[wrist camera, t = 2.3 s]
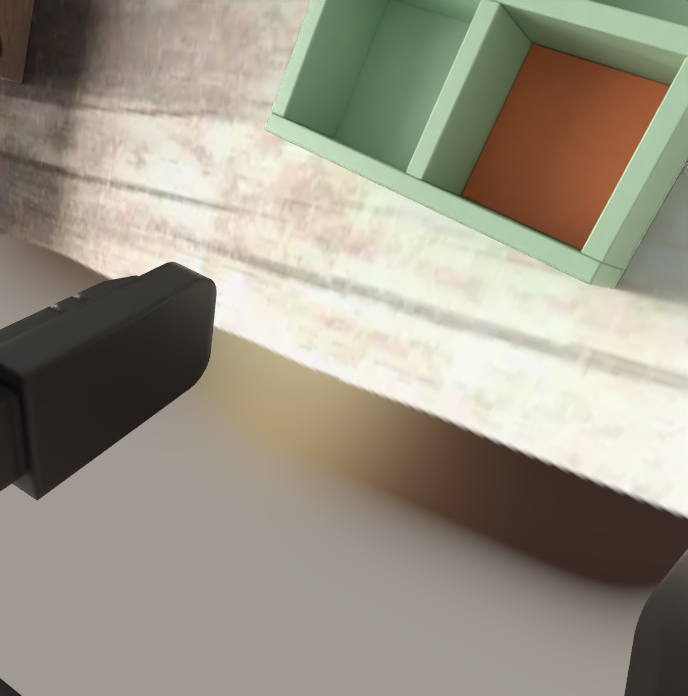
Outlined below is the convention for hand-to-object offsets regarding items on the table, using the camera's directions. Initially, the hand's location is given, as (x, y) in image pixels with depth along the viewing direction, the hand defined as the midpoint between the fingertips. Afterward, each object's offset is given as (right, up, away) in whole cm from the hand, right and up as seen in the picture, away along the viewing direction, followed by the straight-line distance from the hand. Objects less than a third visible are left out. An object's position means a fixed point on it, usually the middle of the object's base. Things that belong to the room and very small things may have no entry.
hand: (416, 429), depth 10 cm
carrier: (+7, +14, +16) cm, 23 cm away
